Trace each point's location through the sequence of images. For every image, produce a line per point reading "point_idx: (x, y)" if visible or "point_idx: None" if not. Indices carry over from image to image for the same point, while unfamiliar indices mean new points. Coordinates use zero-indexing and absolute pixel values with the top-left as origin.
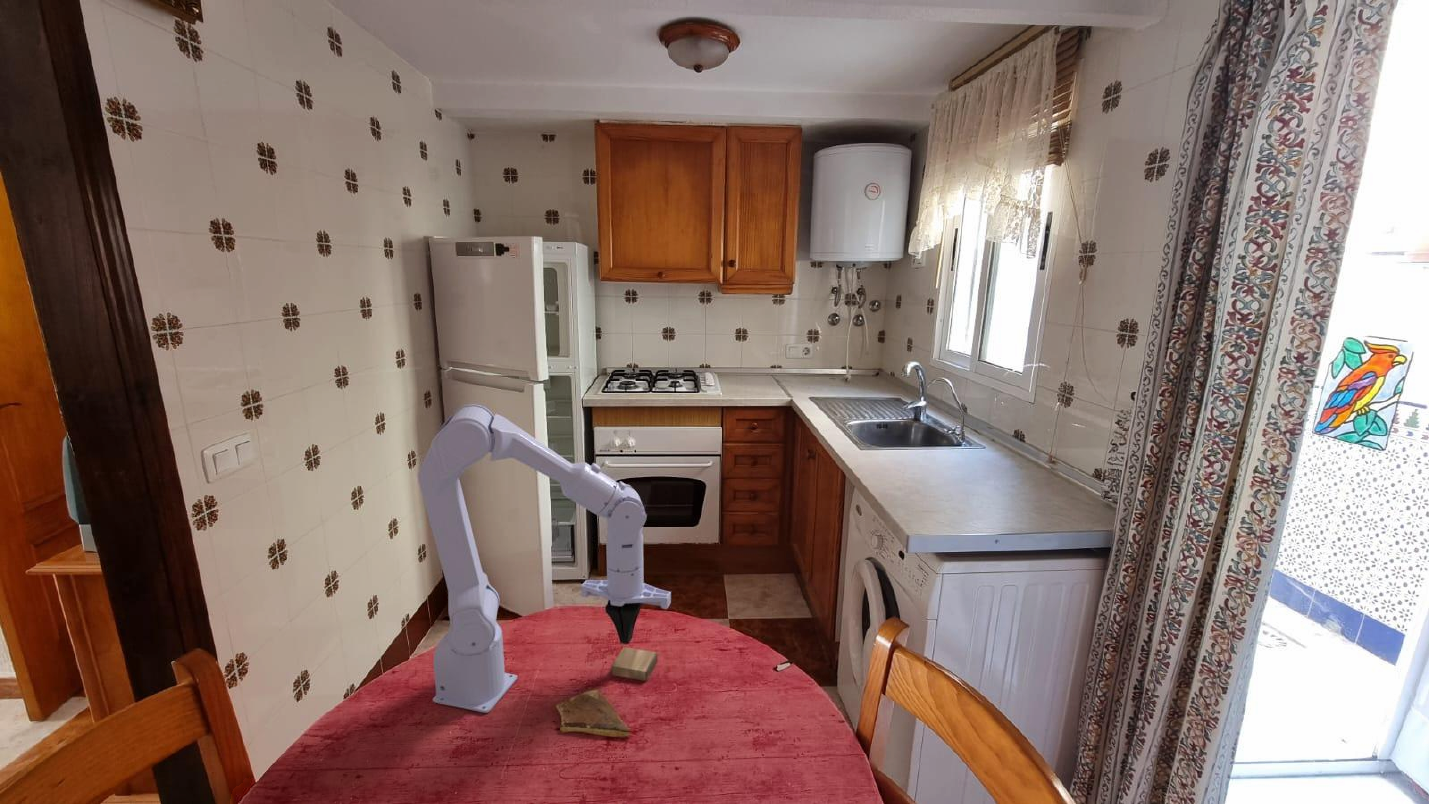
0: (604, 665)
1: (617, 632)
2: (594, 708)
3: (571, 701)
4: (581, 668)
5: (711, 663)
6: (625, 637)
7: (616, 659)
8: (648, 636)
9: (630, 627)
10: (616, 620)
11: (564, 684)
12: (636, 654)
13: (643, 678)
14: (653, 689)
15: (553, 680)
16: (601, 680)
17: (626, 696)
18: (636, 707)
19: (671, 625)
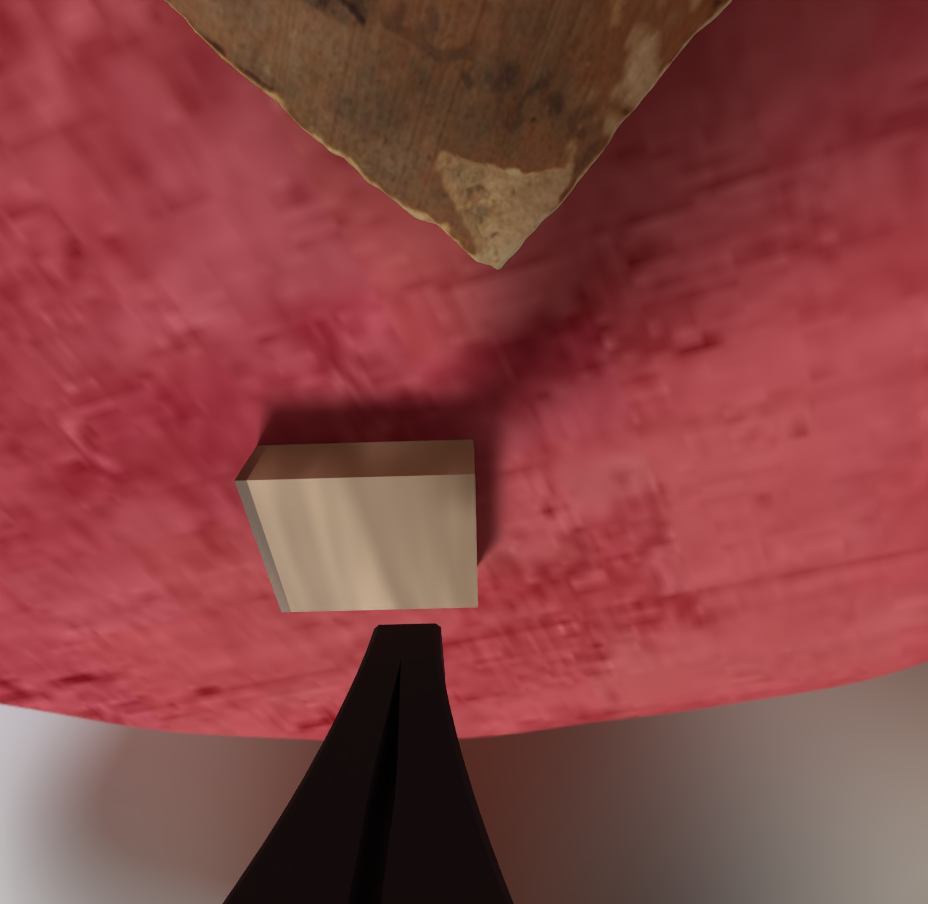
0: (546, 489)
1: (447, 715)
2: (398, 3)
3: (641, 26)
4: (669, 439)
5: (57, 612)
6: (377, 679)
7: (472, 524)
8: None
9: (286, 808)
10: (433, 897)
11: (744, 286)
12: (380, 579)
13: (277, 452)
14: (182, 397)
15: (829, 301)
16: (515, 383)
17: (295, 297)
18: (169, 216)
19: None
